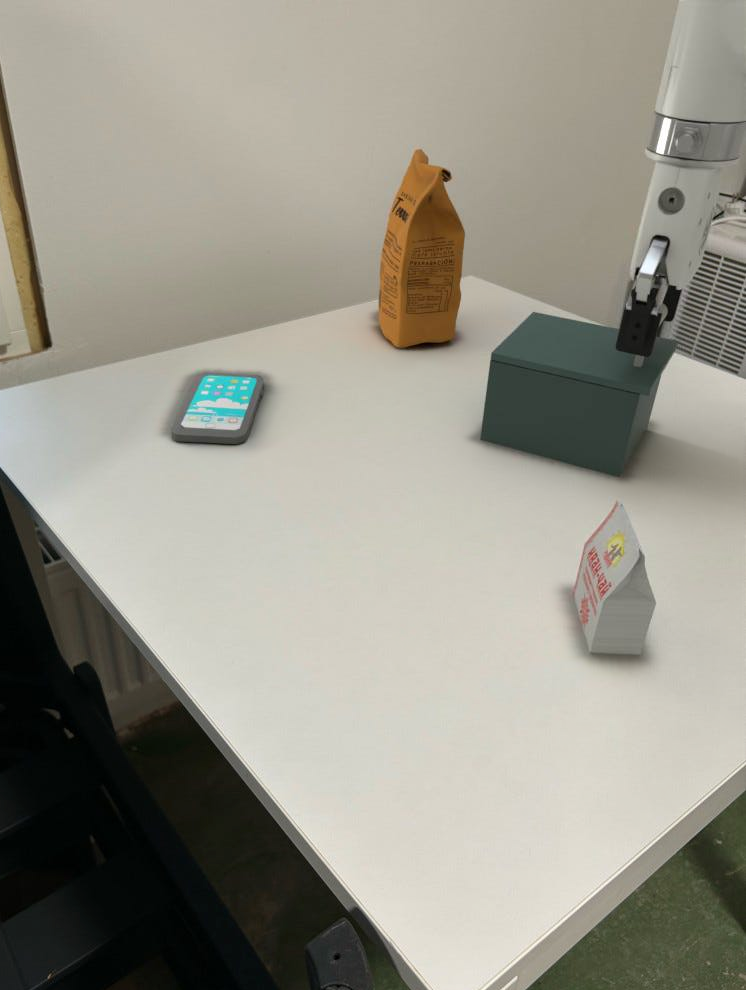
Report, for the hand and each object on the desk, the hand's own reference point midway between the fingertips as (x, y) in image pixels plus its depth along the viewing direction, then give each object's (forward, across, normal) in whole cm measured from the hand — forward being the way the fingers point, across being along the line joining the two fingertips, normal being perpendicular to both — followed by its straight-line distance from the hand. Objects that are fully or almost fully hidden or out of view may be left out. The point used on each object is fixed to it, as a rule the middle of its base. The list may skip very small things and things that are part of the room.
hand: (645, 334), depth 79 cm
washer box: (+13, 0, +5) cm, 14 cm away
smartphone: (+14, -14, +41) cm, 45 cm away
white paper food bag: (+13, -28, -6) cm, 32 cm away
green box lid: (+3, 0, +5) cm, 6 cm away
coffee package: (+14, +18, +32) cm, 39 cm away
